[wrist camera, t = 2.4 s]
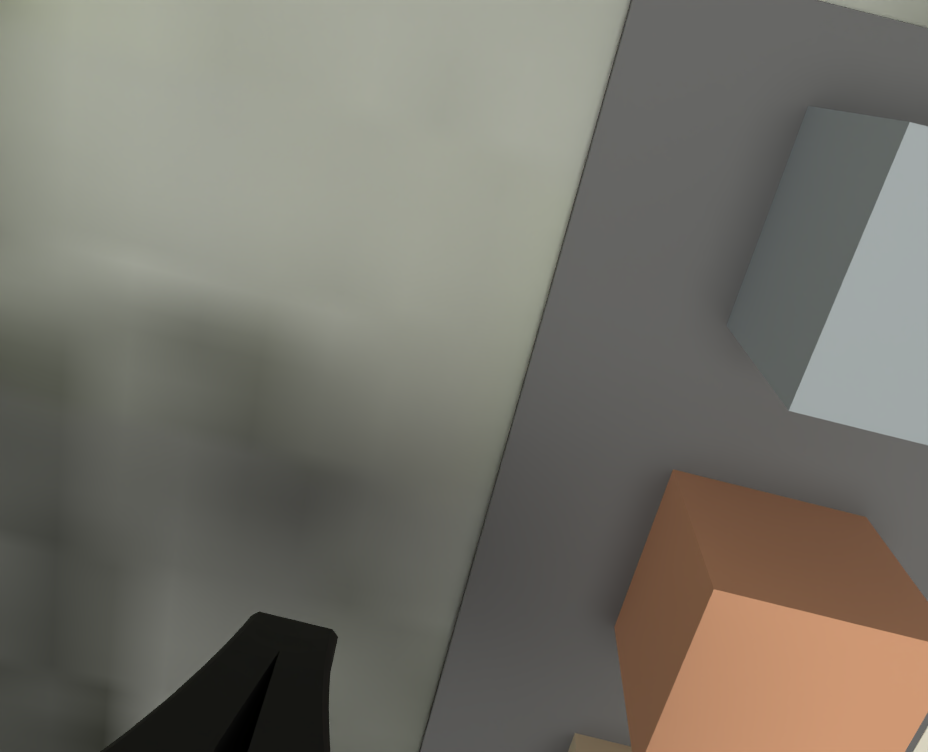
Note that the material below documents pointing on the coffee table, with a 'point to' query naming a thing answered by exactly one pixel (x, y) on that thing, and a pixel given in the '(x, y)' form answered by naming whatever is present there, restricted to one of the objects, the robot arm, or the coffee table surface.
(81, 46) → the coffee table surface
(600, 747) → the beech block
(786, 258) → the slate block
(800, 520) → the terracotta block
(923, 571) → the mat
